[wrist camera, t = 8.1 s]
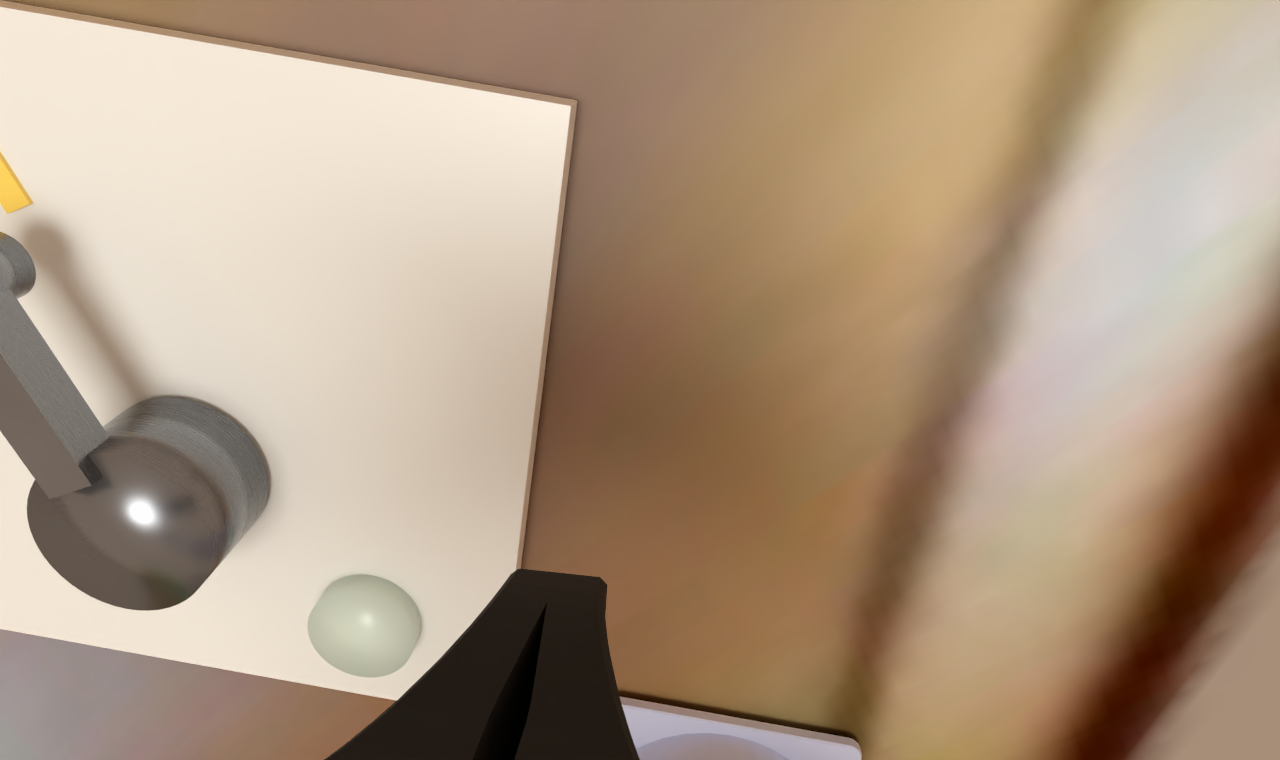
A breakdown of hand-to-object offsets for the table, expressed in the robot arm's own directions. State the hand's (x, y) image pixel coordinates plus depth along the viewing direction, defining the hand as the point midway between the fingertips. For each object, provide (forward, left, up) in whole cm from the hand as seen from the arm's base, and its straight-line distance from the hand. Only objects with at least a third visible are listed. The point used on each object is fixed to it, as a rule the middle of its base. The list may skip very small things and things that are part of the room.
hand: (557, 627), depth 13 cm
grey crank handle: (-3, +12, -9) cm, 16 cm away
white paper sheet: (-3, +10, -10) cm, 15 cm away
